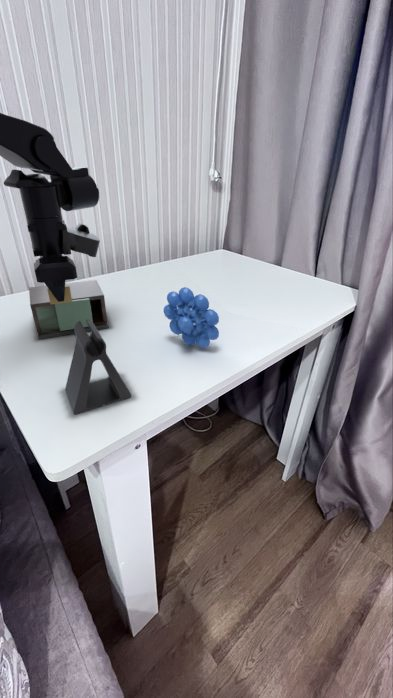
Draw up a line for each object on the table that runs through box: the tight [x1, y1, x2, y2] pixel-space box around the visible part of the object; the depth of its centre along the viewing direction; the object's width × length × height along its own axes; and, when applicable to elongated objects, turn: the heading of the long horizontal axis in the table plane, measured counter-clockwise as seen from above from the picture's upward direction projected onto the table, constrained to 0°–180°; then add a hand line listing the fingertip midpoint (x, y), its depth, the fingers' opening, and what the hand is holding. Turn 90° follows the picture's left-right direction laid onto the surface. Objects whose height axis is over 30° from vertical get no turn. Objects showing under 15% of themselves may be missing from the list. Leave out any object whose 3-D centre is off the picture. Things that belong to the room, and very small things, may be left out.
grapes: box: [162, 286, 220, 348], centre depth 63 cm, size 12×7×12 cm, turn 67°
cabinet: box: [28, 279, 110, 340], centre depth 71 cm, size 14×10×7 cm
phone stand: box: [64, 320, 132, 416], centre depth 50 cm, size 9×6×12 cm, turn 119°
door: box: [47, 285, 93, 331], centre depth 66 cm, size 7×1×9 cm, turn 114°
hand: (60, 299), depth 64 cm, fingers closed on door
